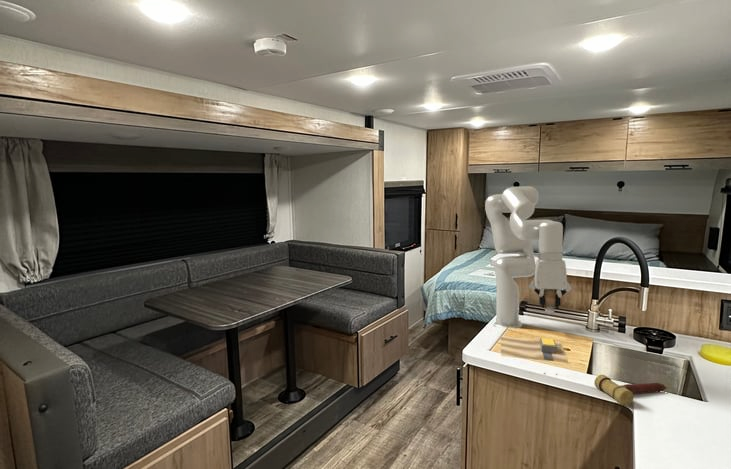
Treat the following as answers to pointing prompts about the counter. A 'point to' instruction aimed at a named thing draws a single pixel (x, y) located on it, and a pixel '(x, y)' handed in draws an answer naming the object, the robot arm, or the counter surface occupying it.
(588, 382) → the counter surface
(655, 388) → the gavel
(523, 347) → the subfloor board
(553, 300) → the brown grey cylinder
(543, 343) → the stud finder
